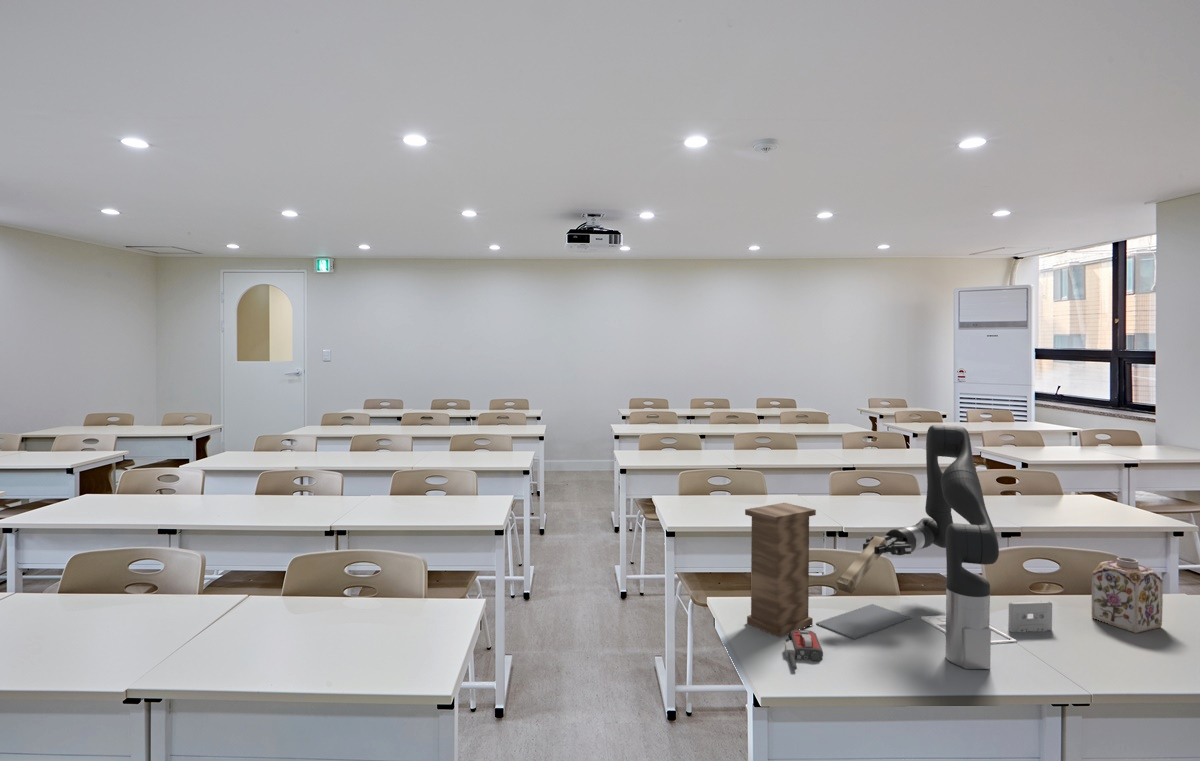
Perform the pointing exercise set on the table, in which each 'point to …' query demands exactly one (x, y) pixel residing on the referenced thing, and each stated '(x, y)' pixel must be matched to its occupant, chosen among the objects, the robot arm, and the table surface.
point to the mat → (863, 621)
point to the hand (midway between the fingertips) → (870, 549)
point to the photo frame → (940, 621)
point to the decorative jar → (1127, 595)
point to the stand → (780, 568)
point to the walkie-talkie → (803, 646)
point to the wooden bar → (860, 566)
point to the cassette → (1035, 623)
